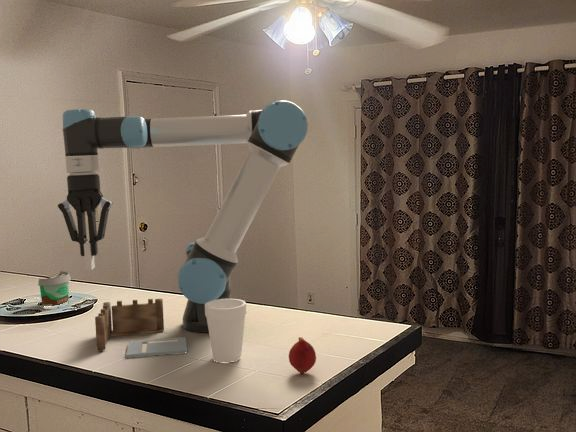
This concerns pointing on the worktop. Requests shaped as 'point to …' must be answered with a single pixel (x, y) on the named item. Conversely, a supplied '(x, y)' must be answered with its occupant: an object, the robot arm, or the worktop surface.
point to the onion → (302, 356)
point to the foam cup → (226, 328)
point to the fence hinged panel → (102, 328)
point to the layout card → (156, 347)
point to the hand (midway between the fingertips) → (90, 268)
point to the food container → (54, 289)
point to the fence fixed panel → (136, 318)
